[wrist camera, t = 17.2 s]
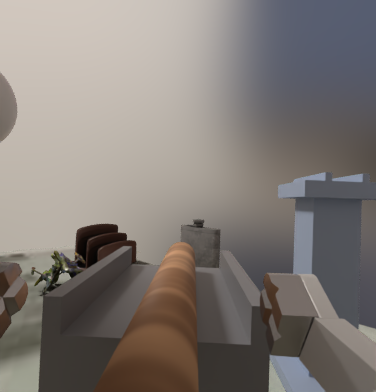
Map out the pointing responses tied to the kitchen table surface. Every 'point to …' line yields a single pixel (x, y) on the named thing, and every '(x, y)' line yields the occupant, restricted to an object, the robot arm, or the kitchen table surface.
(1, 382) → the kitchen table surface
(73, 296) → the tray stand
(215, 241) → the flask
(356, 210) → the shelf post
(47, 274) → the passion flower
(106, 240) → the letter holder
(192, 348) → the dowel
